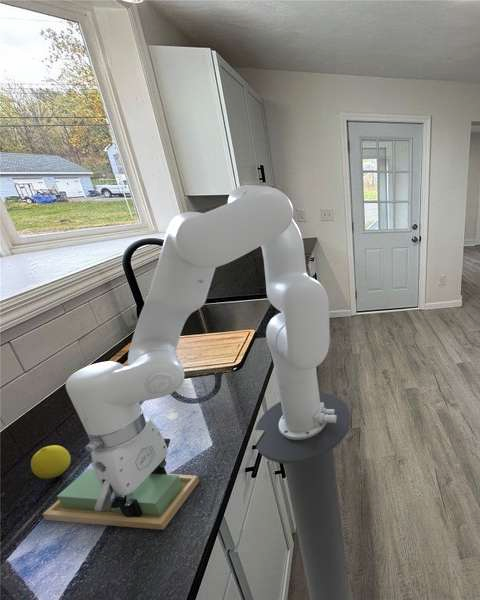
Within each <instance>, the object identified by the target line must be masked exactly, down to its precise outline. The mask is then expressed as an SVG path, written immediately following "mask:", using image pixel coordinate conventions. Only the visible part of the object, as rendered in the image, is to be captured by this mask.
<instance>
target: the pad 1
mask: <svg viewBox="0 0 480 600" xmlns="http://www.w3.org/2000/svg"><path fill="white" fill-rule="evenodd" d="M100 491H101V487H100V485H99V483H98V480H97V477H96V475H95V471H94V470H93V469H91V468H89V469H86V470H85V471H84V472H83V473H81V474H80V475H79V476H78V477H77V478H75V479H74V480H73V481H72V482H71V483H70V484H69V485H68V486H66V487H65V488H64V489H63V490H62V491H61V492H60V493H58V494H57V495H56V498H57V500H59V501H60V503H61V504H62V506H63V508H66V509H78V510H90V511H96V510H94V508H95V505H96V502H97V500H98V497H99V494H100ZM102 512H111V509H108V510H105V511H102Z"/></svg>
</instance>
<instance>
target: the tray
mask: <svg viewBox="0 0 480 600" xmlns="http://www.w3.org/2000/svg"><path fill="white" fill-rule="evenodd" d="M92 470H94V468H93V469H92ZM167 475H178V476H179V478H180V481H181V484H182V486H183V488H182V489H181V490H180V492H179V493H178V494H177V496H176V497H175V498H174V499H173V501H172V502H171V503H170V505H169V506H168V507H167V508H166V510H165V511H164V512H163V513H162V515H161V516H152V515H141V516H140V517H136V516H131V517H125V516H124V515H123V513H116V512H112V511H111V512H102V511H90V510H78V509H66V508H63V506H62V504H61V503H60V501H59V499H57V500H56V501H55V502H54V503H53V504H52V505H51V506H50V507H48V508H47V509H46V510H45V511H44V512H43V513H42V516H43V517H44V519H45V520H46V521H55V522H67V523H78V524H79V523H80V524H88V525H101V526H114V527H124V528H125V527H126V528H136V529H147V530H158V531H159V530H161V531H164V530H165V528H166V527H167V526H168V524H169V523H170V522H171V520H172V519H173V518H174V516H175V515H176V514H177V512H178V511H179V510H180V509H181V507H182V506H183V504H185V501H186V500H187V499H188V498H189V496H190V495H191V493H192V492H193V491H194V489H195V488H196V487H197V485H199V483H200V479H199V476H198V475H191V474H177V473H167Z"/></svg>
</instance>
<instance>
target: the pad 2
mask: <svg viewBox="0 0 480 600" xmlns="http://www.w3.org/2000/svg"><path fill="white" fill-rule="evenodd" d="M182 488H183V486H182V484H181V481H180V478H179V476H178V475H165V474H150V475H149V476H148V477H147V478H146V479H145V480H144V481H143V482H142V483H141V484H140V486H139V487H138V488H137V489H136V490H134V491H133V499H137V501H138V504H139V506H140V508H141V511H142V514H141V515H152V516H161V515H162V513H163V512H164V511H165V510H166V508H167V507H168V506H169V505H170V503H171V502H172V501H173V499H174V498H175V497H176V496H177V494H178V493H179V492H180V490H181V489H182ZM122 497H124V495H122ZM110 499H113V493H112V495H111V498H110ZM111 511H112V512H116V513H122V511H121V509H120V507H118V508H111Z"/></svg>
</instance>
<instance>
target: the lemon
mask: <svg viewBox="0 0 480 600" xmlns="http://www.w3.org/2000/svg"><path fill="white" fill-rule="evenodd" d="M71 459H72V457H71V454H70V452H69V451H68V449H66V448H65V447H64V446H61V445H58V444H57V445H56V444H51V445H47V446H44V447H42V448H40V449H39V450H38V451H37V452H35V454H34V455H33V456H32V458H31V460H30V468H31V471H32V473H33V474H34V475H35V476H36V477H38V478H40V479H53V478H56V477H60V476H61V475H62V474H63V473H65V472H66V471H67V470H68V468H69V467H70V465H71Z"/></svg>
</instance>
